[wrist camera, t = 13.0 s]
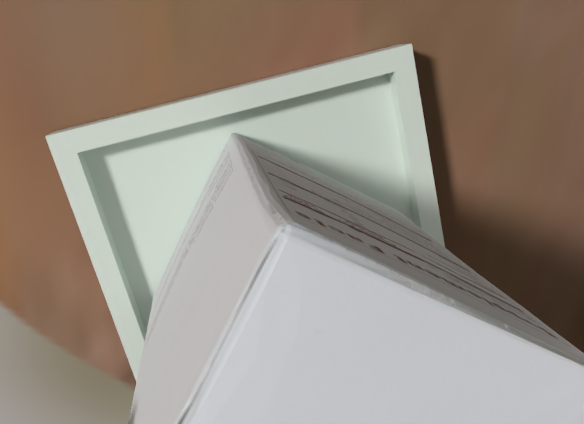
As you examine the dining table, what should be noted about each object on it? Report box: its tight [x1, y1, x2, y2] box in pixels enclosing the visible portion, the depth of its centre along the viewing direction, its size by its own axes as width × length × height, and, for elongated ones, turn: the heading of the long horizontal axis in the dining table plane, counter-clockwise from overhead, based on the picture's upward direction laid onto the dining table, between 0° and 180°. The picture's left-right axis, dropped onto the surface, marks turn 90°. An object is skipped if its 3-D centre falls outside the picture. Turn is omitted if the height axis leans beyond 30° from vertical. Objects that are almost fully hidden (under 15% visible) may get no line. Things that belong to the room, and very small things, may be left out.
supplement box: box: [128, 133, 584, 424], centre depth 16 cm, size 7×7×13 cm
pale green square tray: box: [45, 44, 445, 382], centre depth 22 cm, size 13×13×1 cm
